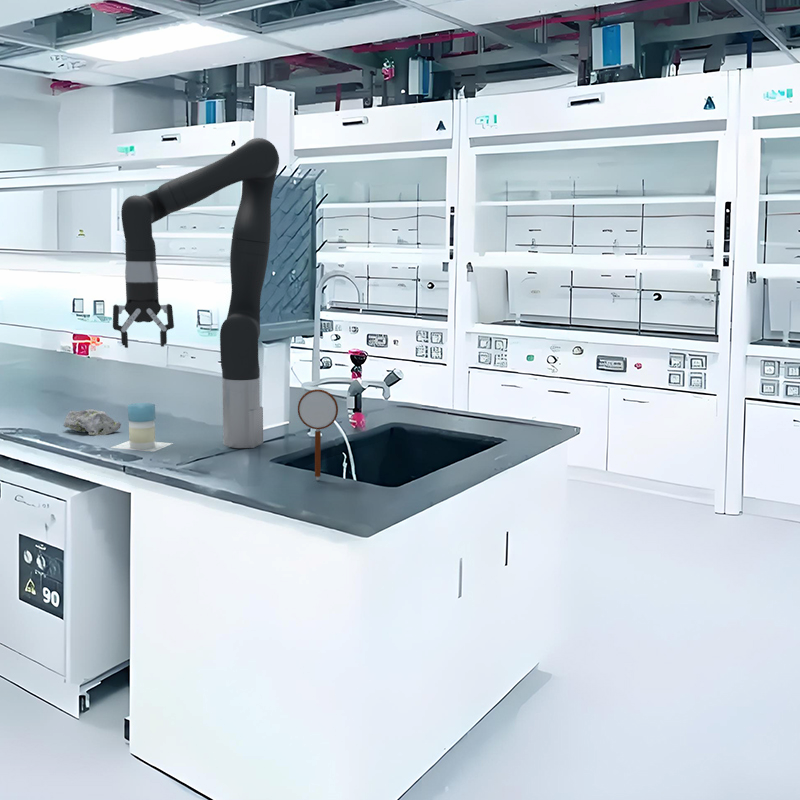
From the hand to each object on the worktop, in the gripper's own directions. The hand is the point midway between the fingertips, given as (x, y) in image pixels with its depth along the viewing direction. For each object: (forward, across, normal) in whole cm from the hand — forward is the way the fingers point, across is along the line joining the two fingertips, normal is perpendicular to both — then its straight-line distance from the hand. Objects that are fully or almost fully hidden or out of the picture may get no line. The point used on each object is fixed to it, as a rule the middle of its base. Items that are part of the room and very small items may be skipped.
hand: (144, 346), depth 211 cm
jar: (+24, +2, +3) cm, 25 cm away
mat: (+25, +2, +1) cm, 25 cm away
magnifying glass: (+25, -32, +44) cm, 60 cm away
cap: (+17, +2, +3) cm, 18 cm away
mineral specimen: (+25, +13, -19) cm, 34 cm away
